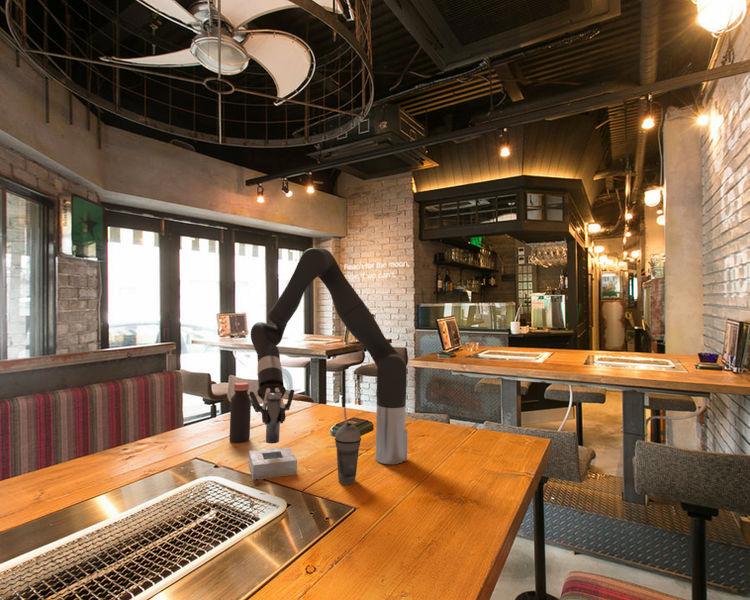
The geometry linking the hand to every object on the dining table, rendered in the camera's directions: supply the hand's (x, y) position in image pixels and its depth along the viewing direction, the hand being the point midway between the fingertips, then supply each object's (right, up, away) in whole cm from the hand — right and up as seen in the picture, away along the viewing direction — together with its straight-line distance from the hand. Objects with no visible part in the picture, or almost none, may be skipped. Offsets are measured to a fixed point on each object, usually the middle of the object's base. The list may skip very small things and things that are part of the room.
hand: (274, 422), depth 116 cm
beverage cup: (+21, -15, -6) cm, 26 cm away
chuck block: (-1, -14, +1) cm, 14 cm away
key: (-1, -6, +2) cm, 6 cm away
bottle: (-19, -15, +26) cm, 36 cm away
